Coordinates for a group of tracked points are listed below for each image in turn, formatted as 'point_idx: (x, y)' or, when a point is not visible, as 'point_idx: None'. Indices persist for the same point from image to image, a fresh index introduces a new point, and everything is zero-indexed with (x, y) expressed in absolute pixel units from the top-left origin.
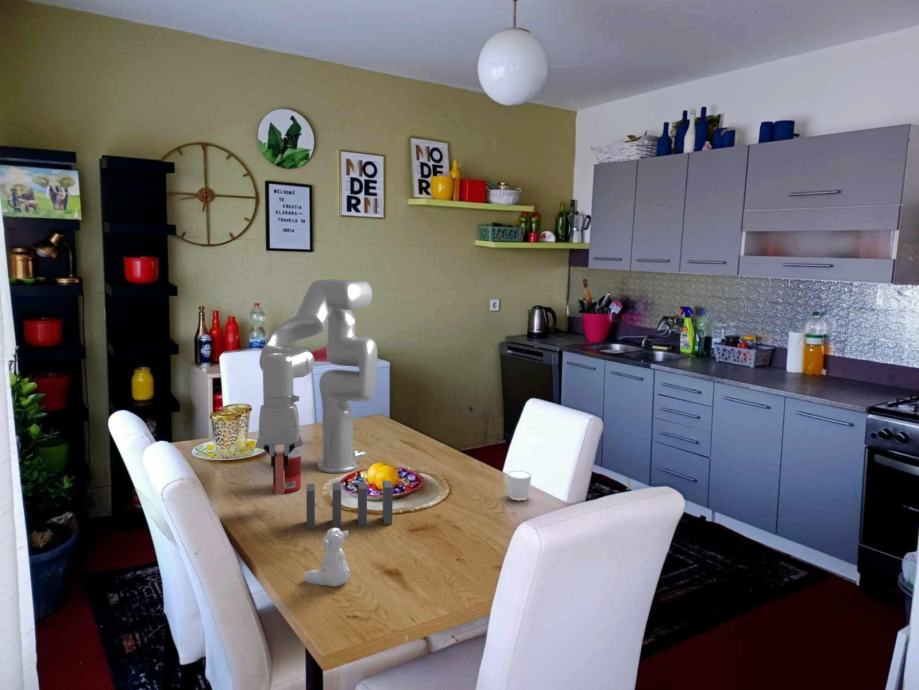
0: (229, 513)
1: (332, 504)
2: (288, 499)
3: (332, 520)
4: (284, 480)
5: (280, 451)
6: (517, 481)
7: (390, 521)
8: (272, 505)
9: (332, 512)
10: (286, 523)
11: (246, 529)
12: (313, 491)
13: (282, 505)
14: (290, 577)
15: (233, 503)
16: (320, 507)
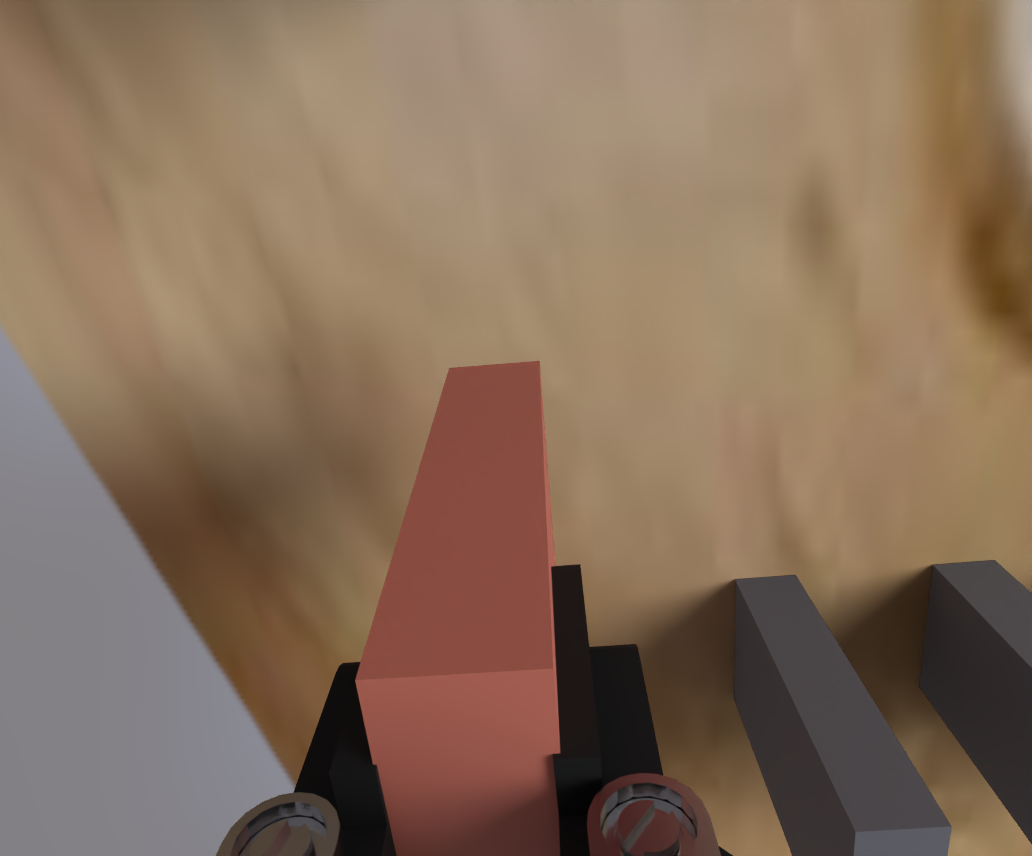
0: (91, 406)
1: (1009, 664)
2: (545, 79)
3: (934, 600)
4: (541, 400)
5: (463, 686)
6: None
7: None
8: (413, 240)
9: (968, 629)
10: (586, 605)
11: (322, 680)
12: None
13: (507, 244)
14: None
15: (28, 171)
16: (860, 309)
